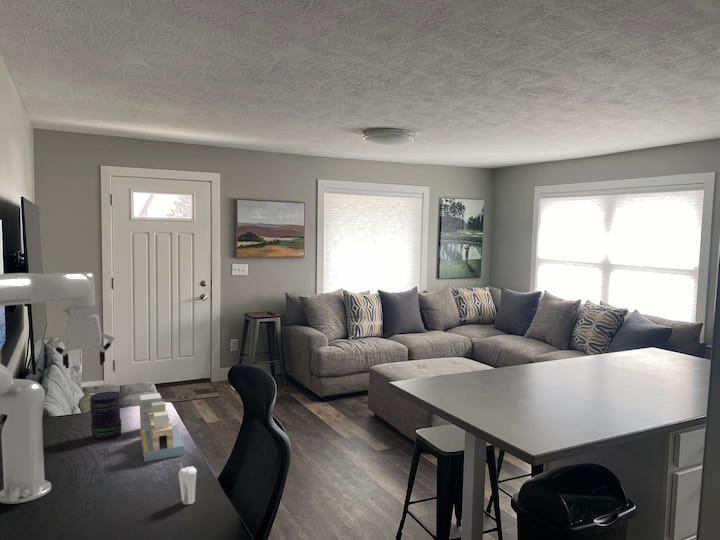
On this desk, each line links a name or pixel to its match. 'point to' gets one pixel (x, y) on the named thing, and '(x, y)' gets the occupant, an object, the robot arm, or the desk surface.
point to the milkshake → (187, 484)
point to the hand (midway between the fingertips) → (84, 366)
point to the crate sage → (158, 407)
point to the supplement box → (147, 408)
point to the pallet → (160, 434)
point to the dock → (161, 446)
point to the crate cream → (161, 420)
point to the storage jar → (105, 416)
